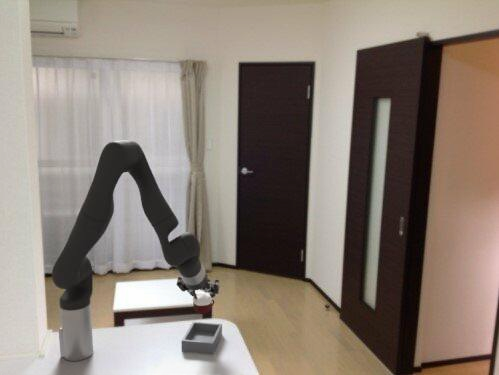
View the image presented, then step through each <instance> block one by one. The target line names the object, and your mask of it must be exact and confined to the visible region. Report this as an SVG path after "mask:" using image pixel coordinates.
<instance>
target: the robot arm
mask: <svg viewBox="0 0 499 375" xmlns="http://www.w3.org/2000/svg"><path fill="white" fill-rule="evenodd" d="M95 169H96V170H95V173H94V175H93V179H92V182H91V184H90V185H89V188H88V191H87V193H86V196H85V199H84V201H83V203H82V204H81V208H80V210H79V212H78V214H77V217H76V220H75V222H74V225H73V227H72V230H71V232H70V234H69V236H68V238H67V241H66V243H65V246H64V247H63V249H62V250H61V252H60V254H59V256H58V258H57V260H56V261H55V262H54V264H53V266H52V270H51V271H52V272H51V280H52V282H53V284H54V285H55V286H56V287H57V288H59V289H61V290H64V291H63V293H62V294H61V296H59V310H60V311H59V312H60V328H59V329H58V338H59V340H58V341H59V352H60V358H63V359H64V360H66V361H69V362H70V361H71V362H77V361H82V360H86V359H88V358H90V357H91V356H92V355H93V354H94V343H93V342H94V341H93V339H94V338H93V322H92V320H93V319H92V306H91V305H92V304H91V298H92V295H93V284H94V283H93V277H94V274H93V265H92V263H91V260H90V259H89V257H88V256H87V255H88V254H89V253H90V251H91V250H92V249H93V247H95V245H96V244H97V243H98V242H99V241H100V239H101V238H102V237H103V235H104V234H105V233H106V231H107V229H108V227H109V225H110V222H111V220H112V218H113V216H114V212H115V202H114V200H115V199H114V192H115V188H116V187H117V184H118V183H119V180H120V178H121V176H122V175H123V174H124V173H128V174H129V175H130V176H131V177H132V179H133V180H134V182H135V184H136V185H137V188H138V191H139V192H138V193H139V195H140V202H141V206H142V210H143V212H144V214H145V217H146V218H147V220H148V222H149V223H150V225H151V227H152V228H153V230H154V232H155V233H156V236H157V238H158V240H159V245H160V248H161V251H162V255H163V258H164V260H165V262H166V263H167V264H168V265H169V266H171V267H176V268H177V271H178V272H179V276H178V277H177V280H176V286H177V287H178V288H179V289H180V291H181V292H187V293H188V294H189V295H190V296H192V297H193V296H194V295H193V293H192V291H193V290H194V291H195V292H196V291H201V292H203V293H205V294H207V293H208V294H209V296H210V297H211V298H212V299H213V298H214V297H216V295H218V294H219V292H220V291H219V290H220V280H219V279H215V280H214V281H211V280H210V279H209V277H208V274H207V272H206V271H207V270H206V269H205V267H204V265H203V263H202V262H201V259H200V257H201V256H200V255H201V245H200V242H199V239H198V237H197V236H196V235H195V234H193V233H192V232H187V231H186V232H184V233H182V234H180V235H178V236H176V237H175V238H173V239H171V240H170V241H169V236H170V234H171V233H172V232H173V231H174V230H176V228H177V227H178V226H179V223H180V222H179V220H178V218H177V216H176V215H175V213H174V211H173V209H172V208H171V207H170V204H168V201H167V200H166V198H165V196H164V195H163V193H162V191H161V189H160V187H159V184H158V183H157V180H156V178H155V176H154V174H153V171H152V169H151V166H150V165H149V161H148V159H147V157H146V154H145V153H144V151H143V148H142V147H141V146H140V144H139V143H137V142H136V141H134V140H131V139H130V140H129V139H124V140H112V141H110V142H108V143H106V145H105V146H104V147H103V149H102V150H101V153H100V155H99V159H98V163H97V166H96V168H95Z"/></svg>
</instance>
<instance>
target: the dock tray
mask: <svg viewBox="0 0 499 375" xmlns="http://www.w3.org/2000/svg"><path fill="white" fill-rule="evenodd" d="M222 336H223V324H222V323H215V322H214V323H213V322H211V323H210V322H200V321H192V322H191V324H190V326H189V327H188V329H187V331H186V332H185V334H184V336H183V338H182V339H181V352H182V353H189V354H190V353H192V354H201V355H202V354H203V355H212V356H213V355H214V353H215V351H216V349H217V347H218V344H219V342H220V341H221V338H222Z"/></svg>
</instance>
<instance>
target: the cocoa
mask: <svg viewBox="0 0 499 375" xmlns="http://www.w3.org/2000/svg"><path fill="white" fill-rule="evenodd" d="M192 293H193V295H194V296H192V303H193V309H194V311H195V313H197V314H199V315H205V314H208V313H209V312H210V311H211V309H212V307H213V306H214V304H215V300H214V299H213V298H211V296H210V294H209V293H208V294H207V293H206V292H204V291H198V292H196V290H195V291H194V290H193V291H192Z"/></svg>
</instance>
